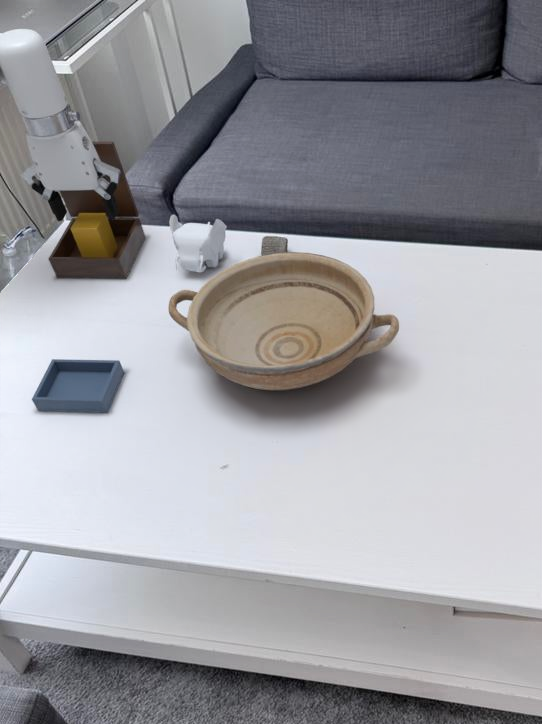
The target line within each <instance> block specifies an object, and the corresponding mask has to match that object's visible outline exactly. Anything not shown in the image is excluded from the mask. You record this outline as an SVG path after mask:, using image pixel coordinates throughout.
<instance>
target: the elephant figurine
mask: <svg viewBox="0 0 542 724" xmlns="http://www.w3.org/2000/svg"><path fill="white" fill-rule="evenodd" d="M168 221H169V222H168V223H169V229H170V231H171V237H172V241H173V244H174V246H175V249H176V250H177V254H176V255H175V257H174V258H175V271H177V270H178V263H179V264H180V267H181V268H182V269H183V270H184V271H190V272H197V273H198V274H199V273H204V272H205V270H206V268H217V267H218V265H219V260H222V259H223V258H224V253H225V245H224V244H225V241H226V236H227V235H226V230H227V228H228V225H226V224H225V223H224V222H223V220H221V219H219V218H216V219H215V220H214V223H213V225H212V224H211V221H208V222H207V223H199V222H187V223H184V224H182V222H180V221H179V218H178V216H177V215H176V214H171V215H170V218H169V220H168ZM204 263H205V264H206V265H205V264H204Z"/></svg>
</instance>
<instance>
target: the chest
mask: <svg viewBox="0 0 542 724" xmlns="http://www.w3.org/2000/svg"><path fill="white" fill-rule="evenodd" d="M76 218H77V217H71V220H70V221H69V223H68V225H67V227H66V228H65V229H64V232H63V233H62V235H61V237H60V238H59V240H58V242H57V243H56V245H55V246H54V248H53V250H52V252H51V253H50V255H49V257H48V261H49V264H50V266H51V268H52V270H53V272H54V274H55V276H56V279H99V280H101V279H102V280H103V279H105V280H106V279H107V280H108V279H109V280H111V279H113V280H114V279H115V280H119V279H120V280H127V278H128V276H129V274H130V272H131V270H132V267H133V266H134V264H135V260H136V259H137V257H138V255H139V253H140V251H141V248H142V246H143V244H144V242H145V240H146V234H145V231H144V228H143V226H142V223H141V219H140V217H115V219H114V221H110V220H109V218H108V217H107V219H108V221H109V224H110V227H111V230H112V232H113V235H114V238H115V240H116V243H117V246H118V248H117V250H116V252H115V254H114V256H113V257H82V255H81V253H80V250H79V248H78V245H77V243H76V241H75V238H74V236H73V233H72V231H71V229H70V228H71V226H72V225H73V223H74V221H75V220H76Z"/></svg>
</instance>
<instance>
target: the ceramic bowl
mask: <svg viewBox="0 0 542 724" xmlns="http://www.w3.org/2000/svg"><path fill="white" fill-rule="evenodd" d="M184 301H191V303H190V305H189V307H188V312H187V316H185V315H183V314H181V313H180V312H179V311H178V310H177V307H178V304H180V303H182V302H184ZM374 312H375V296H374V292H373V289H372V287H371V285H370V283H369V281H368V280H367V279H366V278H365V277H364V276H363V274H361V273H360V272H359V271H358V270H357V269H356V268H354V267H352V266H351V265H349V264H348V263H345V262H343V261H341V260H339V259H336V258H333V257H330V256H327V255H323V254H319V253H311V252H301V251H300V252H299V251H297V252H296V251H290V252H289V251H287V253H275V254H269V255H263V256H262V255H260V256H259V255H258V256H256V257H252V258H249V259H245V260H243V261H240V262H238V263H235V264H233V265H231V266H229V267H227V268H225V269H223V270H222V271H220V272H219V273H217V274H215V275H214V276H213V277H211V278H210V279H209V280H208V281H207V282H206V283H205V284H204V285H202V287H200V289H199V290H198V291H195V290H190V289H182V290H179V291H177V292H176V293H175V294H173V295H171V296H170V299H169V301H168V314H169V316H170V318H171V319H172V320H173V321H174V322H175V323H176V324H178V325H179V326H180V327H182V328H183V329H185V330H186V331H188V332H189V336H190V338H191V340H192V341H193V343H194V345H195V348H196V350H197V352H198V353H199V355H200V356H201V357H202V359H203V360H204V362H205V363H206V364H207V365H208V366H210V368H211V369H213V370H214V371H215V372H216V373H217V374H219V375H220V376H222V377H224V378H225V379H227V380H229V381H231V382H233V383H235V384H239V385H242V386H244V387H247V388H252V389H256V390H262V391H263V390H264V391H289V390H290V391H291V390H296V389H302V388H303V389H304V388H306V387H310V386H312V385H316V384H319V383H321V382H323V381H326V380H328V379H330V378H331V377H333V376H335V375H337V374H339V373H340V372H342V371H343V370H344V369H345V368H346V367H347V366H348V365H350V364H351V363H352V362H353V361H354V360H355V359H357V358H361V357H363V356H367V355H370V354H373V353H375V352H378V351H381V350H382V349H384V348H386V347H387V346H389V345H390V344H392V342H393V341H394V339H395V338H396V336H397V335H398V333H399V331H400V322H399V319H398V317H397V316H396V315H394V314H381V315H380V314H379V315H378V314H375V313H374ZM385 326H390V327H389V328H388V330H387V331H386V332H385V333H384V334H382V335H381V336H380V337H377V338H376V339H374V340H370V341H369V338H370V336H371V332H372V330H375V329H377V328H380V327H381V328H382V327H385Z"/></svg>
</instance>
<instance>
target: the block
mask: <svg viewBox="0 0 542 724" xmlns="http://www.w3.org/2000/svg"><path fill="white" fill-rule="evenodd" d="M75 218H76V220H75V221H74V223H73V225H72V226H71V228H70V229H71V231H72V233H73V236H74V238H75V241H76V243H77V245H78V248H79V250H80V253H81V255H82V257H113V256H114V254H115V252H116V250H117V248H118V246H117V243H116V240H115V238H114V235H113V232H112V230H111V227H110V224H109V221H108V219H107V218H108V217H107V216H106V213H79V214H78V216H77V217H75Z"/></svg>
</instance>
